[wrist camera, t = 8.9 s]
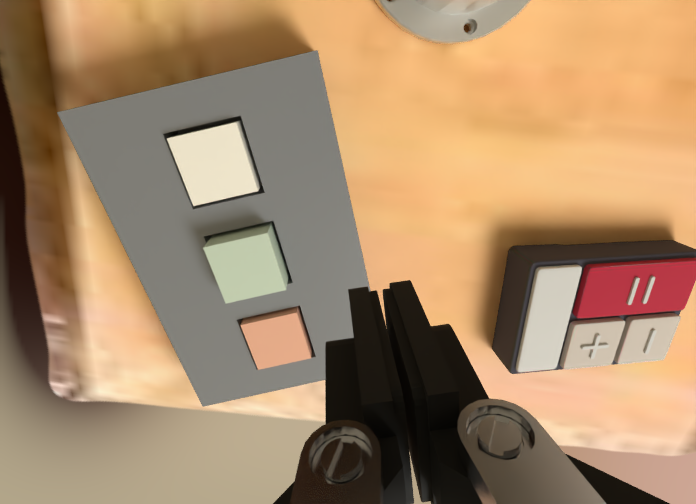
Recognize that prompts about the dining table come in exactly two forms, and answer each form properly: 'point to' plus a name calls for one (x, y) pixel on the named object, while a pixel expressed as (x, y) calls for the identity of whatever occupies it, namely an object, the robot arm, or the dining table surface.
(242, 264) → the key sage
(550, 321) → the button control box
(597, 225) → the dining table surface
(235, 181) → the key ivory
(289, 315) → the key terracotta
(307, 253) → the keypad
